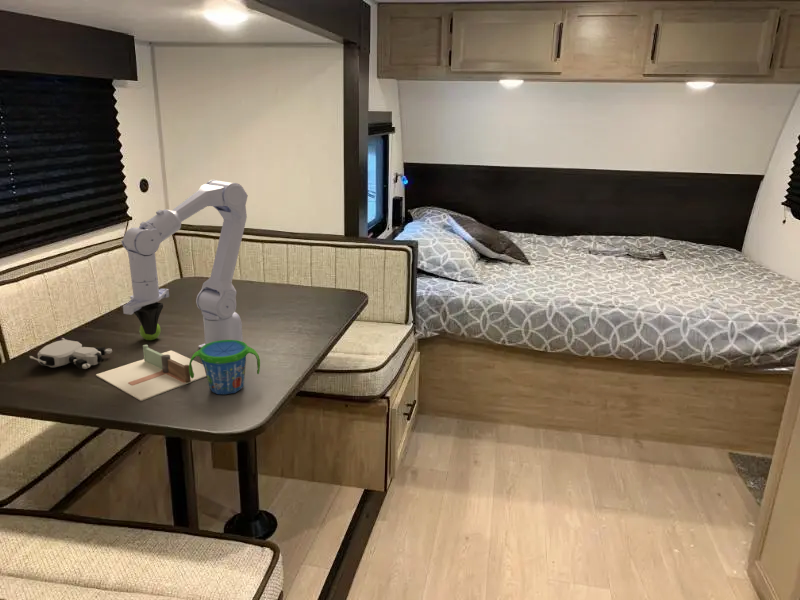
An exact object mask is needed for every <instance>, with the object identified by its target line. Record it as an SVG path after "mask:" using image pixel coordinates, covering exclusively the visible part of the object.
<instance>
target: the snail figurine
mask: <svg viewBox="0 0 800 600" xmlns="http://www.w3.org/2000/svg"><path fill="white" fill-rule="evenodd" d="M138 331H139V335H140V337H141V338H142V339H144V340H146V341H154V340H156V339H157V338H159V336H160V334H161V331H162V330H161V326H160V324H159V322H158V323H157V329H156V333H155V334H153V335H149V334H145V332H144V329H143V327H142V324H141V325H140V326H139V329H138Z"/></svg>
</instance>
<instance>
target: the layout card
mask: <svg viewBox="0 0 800 600" xmlns="http://www.w3.org/2000/svg"><path fill="white" fill-rule="evenodd" d="M160 353H161V354H163V355H170V359H172V360H174V361H176V362H178V363H180V364H182V365H189V363H190V360H191V358H189V357H188V356H186V355H185V356H184V355H182V354H180V353H179V352H177V351H174V350H168V351H165V352H160ZM191 365H192V369H193V373H194V378H191V376H190V380H191V382H188V383H186V382H185V381H184V380H182V379H180V378H178V377H176V376H174V375H172V374H170V373H169V372H168V373H164V372H163V369H161V368H159V367H157V366H155V365H153V364H151V363H149V362H147V361H144V358H143V359H140V360H137V361H134V362H130V363H128V364H124V365H120V366H119V367H116V368H112V369H109V370H106V371H102V372H100V373H96V374H95V376H96V377H97V378H99V379H101V380H103V381H105V382H107V383H108V384H110V385H112V386H113V387H115V388H117V389H119V390H120V391H122V392H124V393H126V394H128V395H130V396H131V397H133V398H135V399H137V400H139V401H140V402H143V401H145V400H148V399H150V398H153V397H155V396H158V395H161V394H164V393H166V392H170V391H172V390H175V389H177V388H180V387H183V386H185V385H188V384H190V383H193V382H196V381H199V380H201V379H203V378H207V376H206V373H205V368H204V366H203V363H202V362H201V363H200V362H198V361H197V360H194V359H193V361H192V363H191Z"/></svg>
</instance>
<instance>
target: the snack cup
mask: <svg viewBox="0 0 800 600" xmlns="http://www.w3.org/2000/svg"><path fill="white" fill-rule="evenodd" d="M248 354H251V355H254V356H255V358H256V365H257V367H256V368H257V370H256V373H257V375H259V373H260V369H261V359H260V356H259V354H258V352H257V351H256V350H255V349H254V348H252V347H250V346H248V344H247V343H245V342H244V341H243V342H241V341H238V340H220V341H215V342H211V343H208V344H206V345H204V346H203V347H201V348H200V349H198V350H197V351H195V352H194V353H193V354H192V356H191V358H190V359H191V360H190V363H189V373H190V376H191V378H194V373H193V369H192V365H191V363H192V361H193V360H194V359H195V358H196V357H199V358H200V362H201V364H203V366H204V368H205V373H206V376H207V377H206V381H207V384H208V387H209V389H210V391H211V392H212V393H214V394H216V395H219V396H220V395H221V396H222V395H224V396H225V395H230V394H235V393H237V392H239V391H240V390H241V389H242V388H243V387H244V383H245V373H246V372H245V371H246V363H247V355H248Z"/></svg>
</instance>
